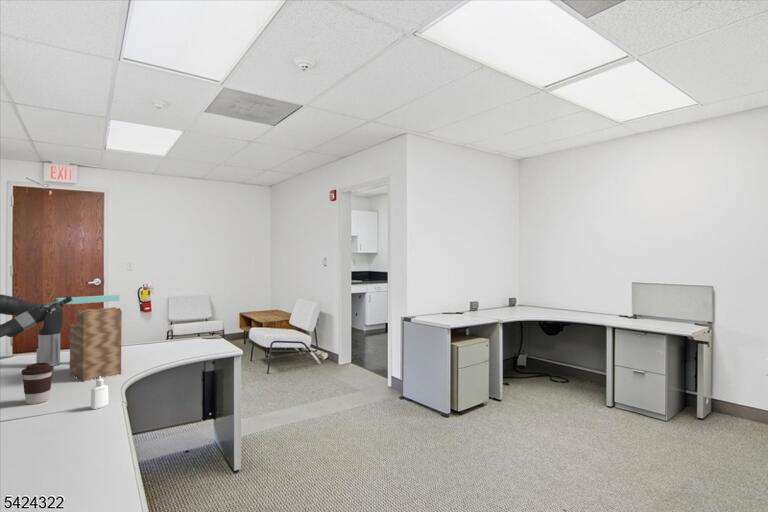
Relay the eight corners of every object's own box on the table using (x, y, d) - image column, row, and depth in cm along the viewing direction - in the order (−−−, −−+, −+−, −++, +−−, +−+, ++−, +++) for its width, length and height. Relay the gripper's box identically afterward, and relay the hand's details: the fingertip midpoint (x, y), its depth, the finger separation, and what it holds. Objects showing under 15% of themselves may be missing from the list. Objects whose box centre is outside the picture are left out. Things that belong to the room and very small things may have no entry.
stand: (83, 381, 192) (83, 311, 193) (69, 374, 205) (70, 308, 205) (121, 374, 205) (121, 308, 205) (106, 367, 217) (106, 305, 218)
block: (58, 304, 196) (58, 298, 196) (56, 304, 198) (56, 298, 198) (119, 300, 216) (119, 295, 216) (116, 300, 219) (116, 294, 219)
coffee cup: (24, 407, 158) (25, 368, 158) (18, 402, 164) (18, 365, 164) (56, 400, 166) (56, 363, 166) (49, 395, 172) (49, 360, 172)
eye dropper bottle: (108, 407, 158) (109, 376, 159) (90, 410, 155) (91, 378, 155) (108, 404, 162) (108, 373, 162) (90, 407, 158) (90, 376, 159)
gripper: (29, 313, 183) (69, 292, 195) (21, 310, 192) (60, 290, 204) (39, 326, 186) (79, 305, 198) (31, 323, 195) (69, 303, 207)
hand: (69, 297), depth 201 cm, fingers closed on block, 4 cm apart
